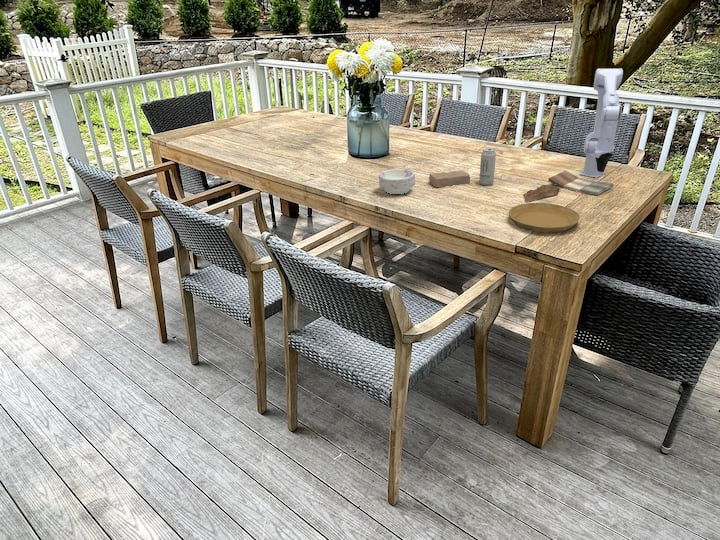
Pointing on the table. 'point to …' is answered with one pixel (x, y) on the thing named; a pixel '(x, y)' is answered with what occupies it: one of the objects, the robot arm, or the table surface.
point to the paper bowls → (397, 180)
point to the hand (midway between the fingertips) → (600, 171)
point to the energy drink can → (487, 166)
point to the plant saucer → (544, 217)
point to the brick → (449, 178)
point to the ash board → (578, 184)
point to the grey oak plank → (596, 188)
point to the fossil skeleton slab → (541, 192)
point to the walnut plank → (562, 178)
